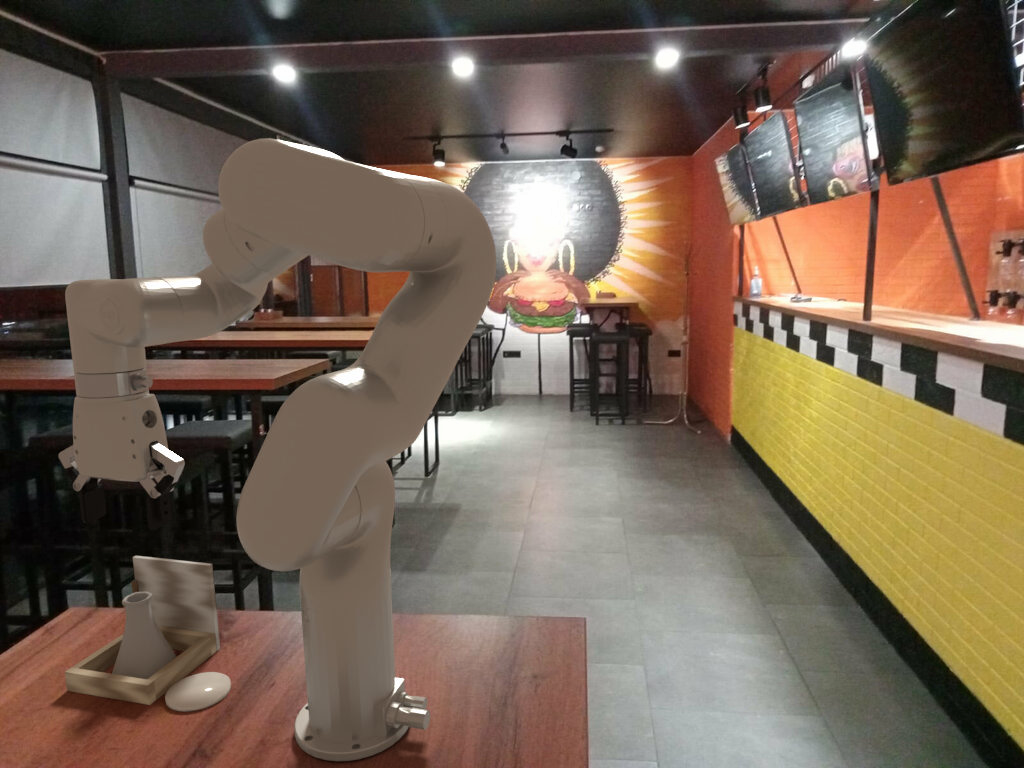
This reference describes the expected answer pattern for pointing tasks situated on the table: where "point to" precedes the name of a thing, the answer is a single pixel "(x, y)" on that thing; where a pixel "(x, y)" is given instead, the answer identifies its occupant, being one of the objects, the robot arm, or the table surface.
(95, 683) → the open-lid wooden box
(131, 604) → the flask
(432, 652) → the table surface
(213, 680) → the white domed disc
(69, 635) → the table surface
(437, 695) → the table surface
